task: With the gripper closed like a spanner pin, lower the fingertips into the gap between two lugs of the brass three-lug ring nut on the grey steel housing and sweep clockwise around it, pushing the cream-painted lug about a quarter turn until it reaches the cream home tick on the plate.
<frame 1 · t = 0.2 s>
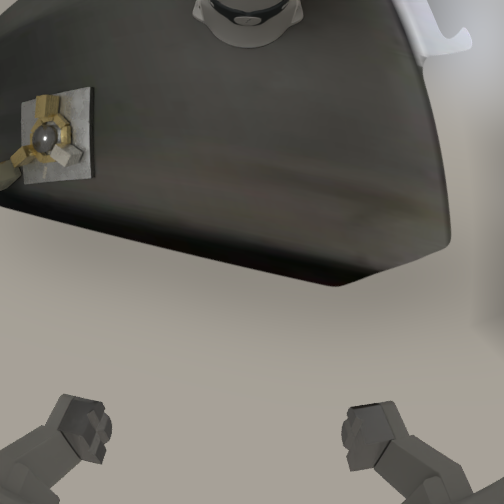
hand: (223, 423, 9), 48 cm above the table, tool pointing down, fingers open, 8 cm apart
skincare box: (11, 173, 50), on the table
ring nut: (43, 132, 44), point 4 cm above the table, hinge at 0.0°
housing: (56, 137, 48), on the table
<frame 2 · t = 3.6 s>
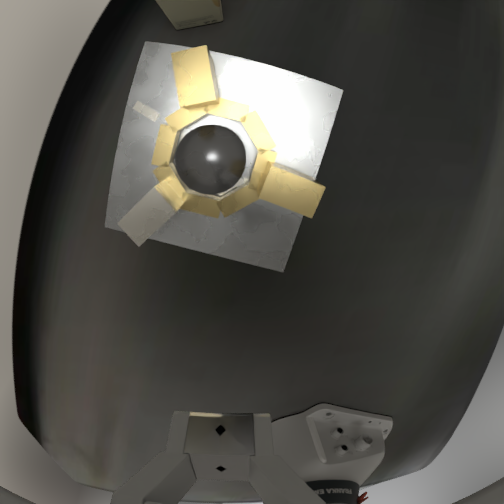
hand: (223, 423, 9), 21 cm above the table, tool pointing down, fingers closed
ring nut: (229, 159, 22), point 4 cm above the table, hinge at 0.0°
housing: (216, 153, 26), on the table
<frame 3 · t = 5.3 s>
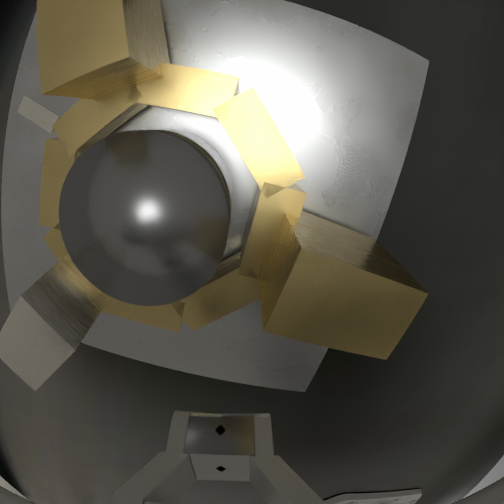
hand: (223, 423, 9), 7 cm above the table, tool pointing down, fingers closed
ring nut: (188, 215, 9), point 4 cm above the table, hinge at 0.0°
housing: (175, 187, 13), on the table
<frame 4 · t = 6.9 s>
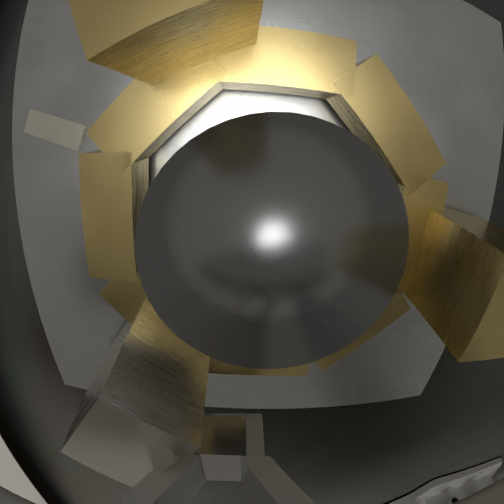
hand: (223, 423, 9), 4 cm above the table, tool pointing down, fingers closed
ring nut: (333, 232, 6), point 4 cm above the table, hinge at -0.4°, touching gripper
housing: (261, 195, 10), on the table
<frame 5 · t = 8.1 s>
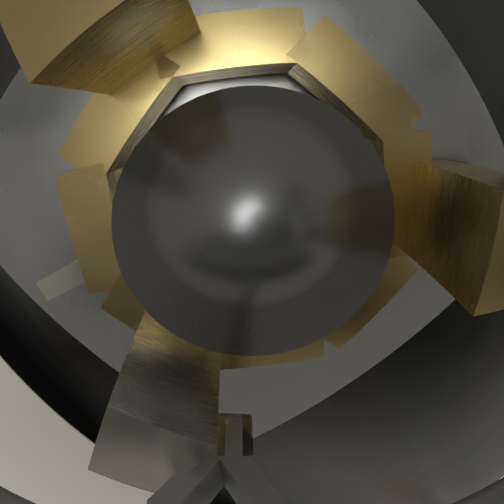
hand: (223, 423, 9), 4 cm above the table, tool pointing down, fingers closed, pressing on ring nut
ring nut: (315, 201, 6), point 4 cm above the table, hinge at -36.2°, touching gripper
housing: (246, 183, 10), on the table
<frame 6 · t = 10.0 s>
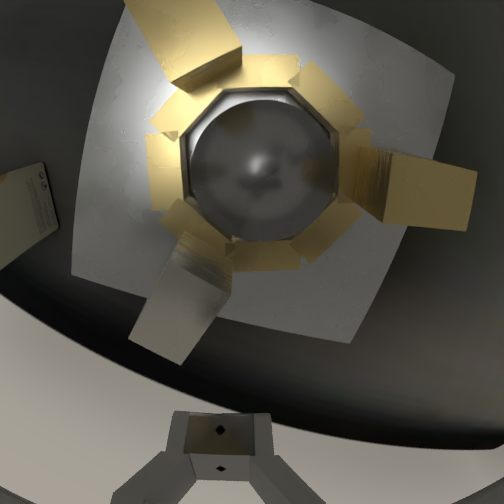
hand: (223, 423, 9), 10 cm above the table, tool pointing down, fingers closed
skincare box: (19, 204, 16), on the table
ring nut: (296, 160, 11), point 4 cm above the table, hinge at -71.4°
housing: (257, 157, 15), on the table
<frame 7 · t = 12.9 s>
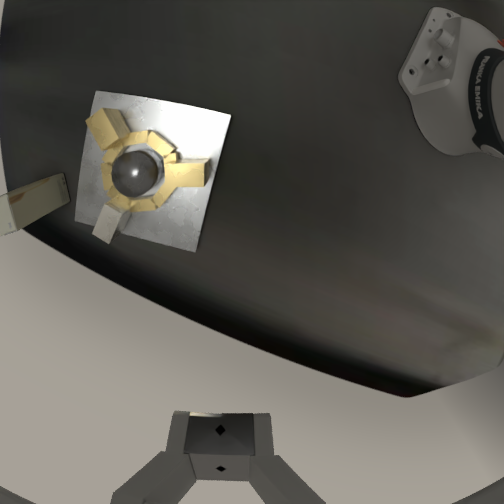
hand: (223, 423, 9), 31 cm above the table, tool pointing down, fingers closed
skincare box: (51, 191, 36), on the table
ring nut: (145, 169, 32), point 4 cm above the table, hinge at -71.4°
housing: (146, 168, 36), on the table
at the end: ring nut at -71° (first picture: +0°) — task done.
